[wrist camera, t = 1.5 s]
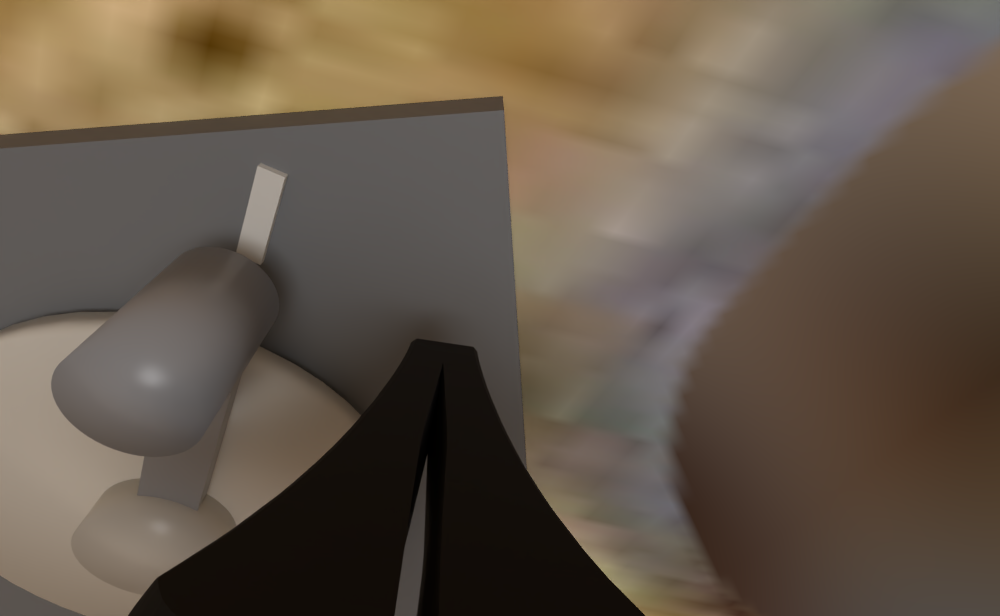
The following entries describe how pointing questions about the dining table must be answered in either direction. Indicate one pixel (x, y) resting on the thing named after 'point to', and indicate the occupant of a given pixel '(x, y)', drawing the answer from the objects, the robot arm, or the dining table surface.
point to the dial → (149, 431)
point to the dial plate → (285, 242)
